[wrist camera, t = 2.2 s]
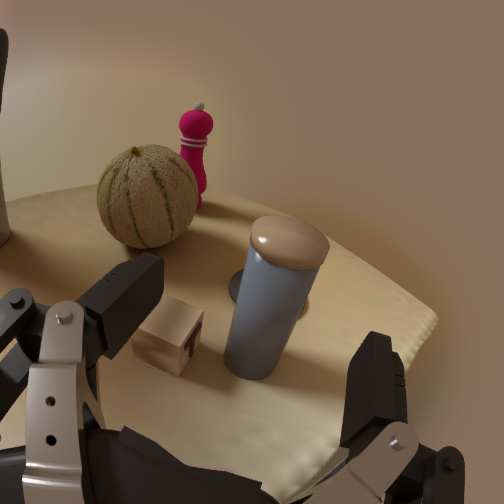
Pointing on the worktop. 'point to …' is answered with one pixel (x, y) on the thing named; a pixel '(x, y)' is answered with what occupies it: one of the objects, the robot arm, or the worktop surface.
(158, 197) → the cantaloupe
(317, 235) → the canister
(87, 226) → the worktop surface
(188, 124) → the pepper mill
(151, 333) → the t block
